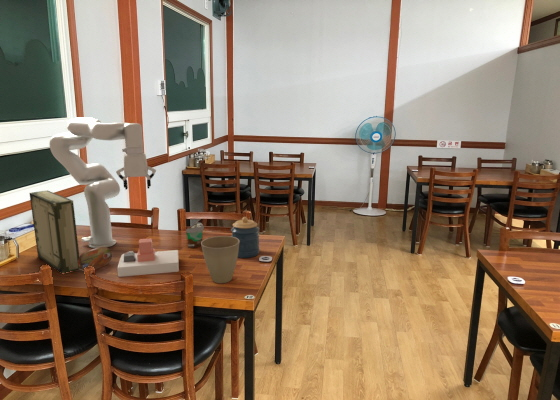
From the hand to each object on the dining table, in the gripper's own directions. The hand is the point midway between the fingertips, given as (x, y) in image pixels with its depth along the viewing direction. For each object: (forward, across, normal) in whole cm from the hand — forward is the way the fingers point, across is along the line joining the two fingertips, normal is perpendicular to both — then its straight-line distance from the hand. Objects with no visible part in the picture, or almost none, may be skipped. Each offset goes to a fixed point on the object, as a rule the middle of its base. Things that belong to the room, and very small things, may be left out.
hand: (137, 188), depth 201 cm
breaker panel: (+30, +4, -22) cm, 38 cm away
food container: (+31, +26, +3) cm, 40 cm away
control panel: (+31, -35, -7) cm, 47 cm away
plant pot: (+31, +33, -43) cm, 62 cm away
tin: (+31, -18, -17) cm, 39 cm away
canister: (+31, +47, -15) cm, 58 cm away
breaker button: (+28, -3, -22) cm, 36 cm away
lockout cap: (+26, +4, -22) cm, 34 cm away
